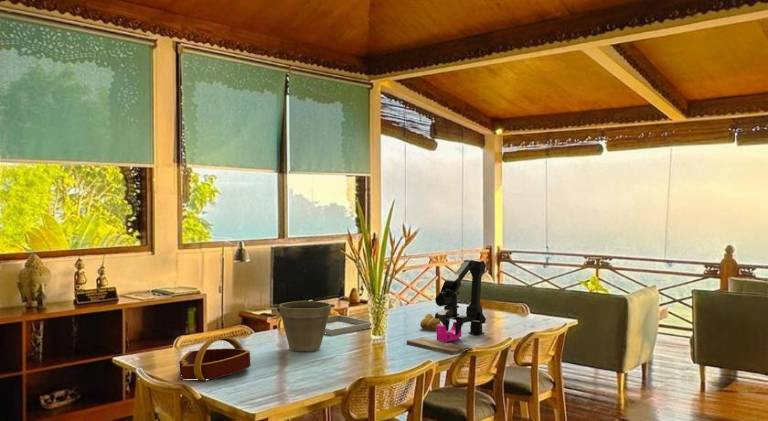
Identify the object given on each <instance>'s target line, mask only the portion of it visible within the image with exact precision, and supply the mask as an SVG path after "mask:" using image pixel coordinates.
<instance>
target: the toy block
mask: <svg viewBox="0 0 768 421" xmlns="http://www.w3.org/2000/svg"><path fill="white" fill-rule="evenodd" d="M454 322H456V320H454V321H453V322H452V327H451V328H450V330H448V331H447V330H446V326H445V325H443V324H441V325H436V330H435V331H436V333H435V334H436V340H438V341H443V342H447V343H449V342H452V341H457V340H460V338H462V328H461V329H460V331H459V333H458V335H456V333H455V324H454Z"/></svg>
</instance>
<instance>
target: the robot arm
mask: <svg viewBox="0 0 768 421" xmlns="http://www.w3.org/2000/svg"><path fill="white" fill-rule="evenodd" d="M462 262H463V263H462V264H461V265H460V266H459V268H458V269H457V270H456V271H455V273H454V274H452V275H450V276H448V277H447V278H446V279H445V281H444V283H443V284H442V287H441V289H440V292H438V295H436V297H435V298H434V299H435V300H434V301H435V304H436V305H437V306H438V307H443V310H442V309H441V311H439V312H435V314H434V317H435V318H436V319H439V321H440V323H441V325H445V326H446V330H447V331H450V330H449V329H450V328H449V327H450V321H451V320H453V322H454V324H455V333H456V335H458V333H459V331H460V329H461V330H462V328H463V325H464V324H466V323H470V326H469V327H470V329H469V332H468V334H470V335H475V336H479V335H484V334H485V332H483V324H485V323H486V320H487V318H486V316H485V315H484V313H483V312H484V311H483V307H482V305H481V291H482V277H483V275H485V273H486V269H487V268H486V267H487V265H486V262H485V261H484V260H480V259H468V258H467V259H464V260H463V261H462ZM469 272H470V274H471V290H470V293H471V294H470V303H469V305H467V306H466V312H465V314H466V315H460V314H459V313H458V309H459V308H460V305H458V295H460V294H461V293H460V291H459V289H460V288H461V286H462V280H464V278H465V277H466V275H467V274H468V273H469ZM455 321H456V322H455Z"/></svg>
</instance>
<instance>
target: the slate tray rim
mask: <svg viewBox="0 0 768 421" xmlns="http://www.w3.org/2000/svg"><path fill="white" fill-rule="evenodd" d="M336 321H339V322H340V321H341V322H345V323H351V324H354V325H348V326H343V327H337V328H333V329H331V328H327V327H326V328H325V332H324V333H326V334H325V335H327V334H329V335H328V336H331V335H332V336H335V335H334V334H337V335H341V334H340V333H343V334H346V332H348V333H352V331H353V332H358V331H357V330H359V331H363V330H362V329H364V330H368V329H367V328H369V329H371V328H370V326H371V323H370V320H366V319H365V320H364V319H361V318H356V317H351V316H346V315H343V314H342V315H341V314H336V315H329V316H328V320H327V323H330V322H336Z"/></svg>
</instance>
